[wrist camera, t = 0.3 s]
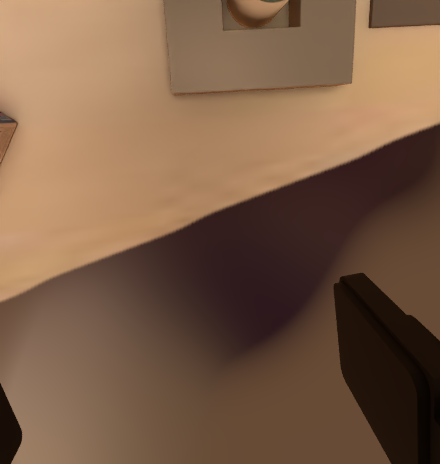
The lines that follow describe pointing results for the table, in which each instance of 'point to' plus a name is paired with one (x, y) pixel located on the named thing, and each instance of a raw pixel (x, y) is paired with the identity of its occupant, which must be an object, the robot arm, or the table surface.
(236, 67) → the housing
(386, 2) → the mat
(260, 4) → the filter cartridge
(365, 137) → the table surface
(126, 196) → the table surface
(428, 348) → the robot arm
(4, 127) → the ink cartridge box
